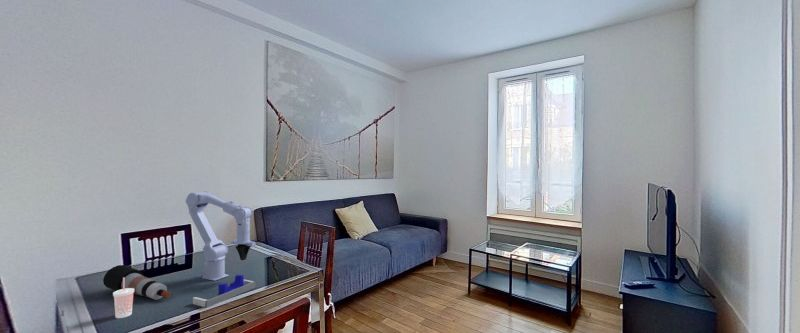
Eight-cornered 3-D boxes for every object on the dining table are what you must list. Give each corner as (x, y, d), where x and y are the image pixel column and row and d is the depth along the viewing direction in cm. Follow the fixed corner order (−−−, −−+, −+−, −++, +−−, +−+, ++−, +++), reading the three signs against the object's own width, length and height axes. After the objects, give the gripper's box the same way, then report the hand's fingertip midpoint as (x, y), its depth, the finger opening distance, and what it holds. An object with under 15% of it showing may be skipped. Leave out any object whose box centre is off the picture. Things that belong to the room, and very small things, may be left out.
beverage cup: (138, 312, 119) (138, 275, 119) (120, 320, 113) (120, 281, 113) (126, 310, 120) (126, 274, 120) (108, 318, 114) (108, 279, 114)
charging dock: (192, 304, 126) (192, 297, 126) (242, 284, 147) (242, 279, 147) (206, 307, 123) (206, 301, 123) (255, 287, 144) (255, 281, 144)
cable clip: (234, 287, 143) (234, 274, 143) (243, 288, 143) (243, 275, 143) (215, 298, 131) (215, 284, 131) (225, 299, 131) (225, 285, 131)
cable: (161, 313, 128) (150, 296, 123) (110, 293, 139) (98, 276, 135) (184, 294, 136) (174, 277, 131) (134, 276, 148) (123, 260, 143)
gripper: (225, 232, 154) (225, 260, 154) (246, 235, 148) (246, 263, 148) (238, 229, 160) (238, 256, 160) (259, 232, 154) (259, 259, 154)
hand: (243, 259), depth 155 cm, fingers closed
